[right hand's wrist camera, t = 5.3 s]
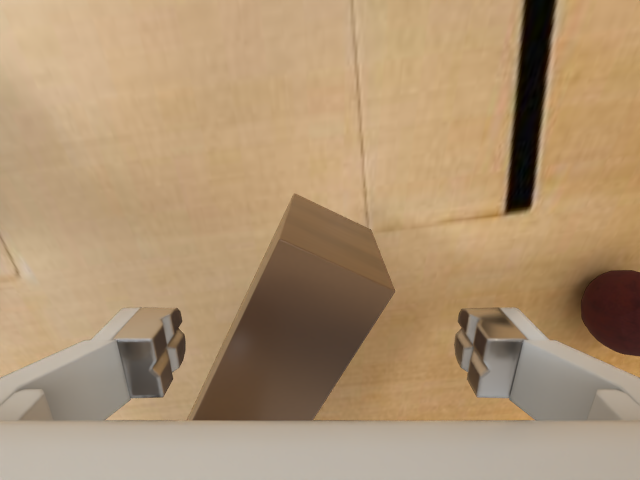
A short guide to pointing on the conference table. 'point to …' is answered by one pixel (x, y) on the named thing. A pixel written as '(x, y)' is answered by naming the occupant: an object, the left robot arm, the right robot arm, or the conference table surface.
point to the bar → (298, 320)
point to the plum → (614, 310)
